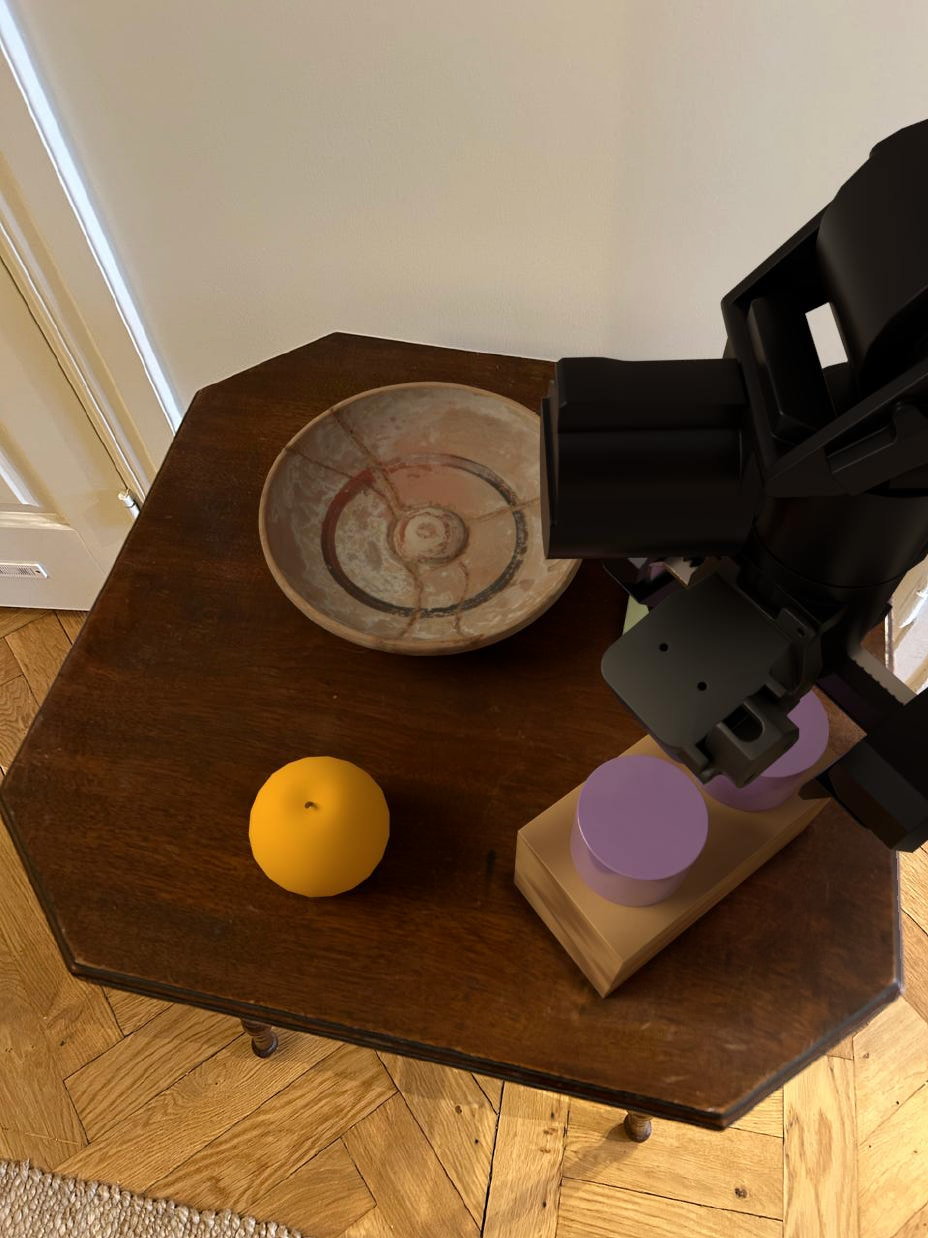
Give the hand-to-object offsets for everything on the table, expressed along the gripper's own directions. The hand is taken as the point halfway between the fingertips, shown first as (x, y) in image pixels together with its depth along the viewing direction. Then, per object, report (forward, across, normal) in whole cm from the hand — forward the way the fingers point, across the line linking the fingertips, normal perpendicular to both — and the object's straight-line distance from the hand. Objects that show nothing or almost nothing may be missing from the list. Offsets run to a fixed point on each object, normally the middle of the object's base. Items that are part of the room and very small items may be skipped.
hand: (736, 720), depth 44 cm
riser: (+13, +1, -3) cm, 13 cm away
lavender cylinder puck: (+4, +1, -7) cm, 8 cm away
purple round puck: (+4, +1, +1) cm, 4 cm away
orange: (+13, -11, -19) cm, 26 cm away
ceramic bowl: (+13, -27, -1) cm, 30 cm away
